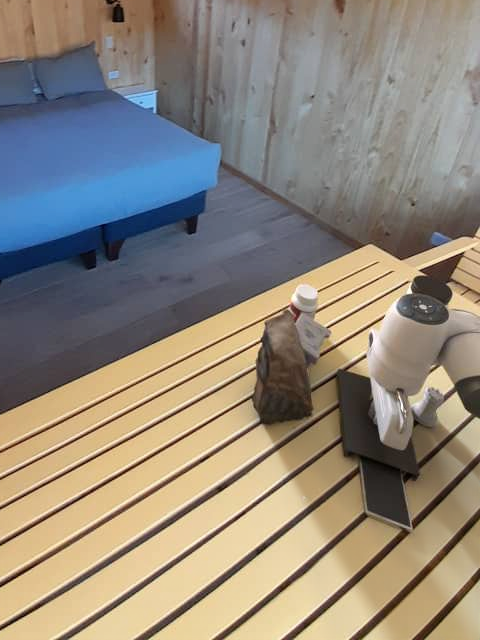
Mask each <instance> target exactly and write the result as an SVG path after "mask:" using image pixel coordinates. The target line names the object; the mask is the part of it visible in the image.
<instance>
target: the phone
mask: <svg viewBox="0 0 480 640" xmlns="http://www.w3.org/2000/svg"><path fill="white" fill-rule="evenodd" d="M357 462H358V470H359V479H360V487H361V496H362V504H363V514H364V516H367V517H369V518H372V519H373V520H377V521H379V522H382V523H385V524H386V525H389V526H392V527H394V528H397V529H398V530H399V529H400V530H402V531H405V532H408V534H409V533H410V534H413V532H414V528H413V522H412V518H411V513H410V512H411V511H410V507H409V502H408V498H407V492H406V487H405V482H404V478H403V477H404V476H403V473H402V472H403V471H402V470H400V469H397V468H395V467H392V466H389V465H386V464H383V463H381V462H378V461H375V460H372V459H369V458H367V457H364V456H361V455H358V454H357Z"/></svg>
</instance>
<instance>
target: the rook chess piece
mask: <svg viewBox="0 0 480 640" xmlns="http://www.w3.org/2000/svg"><path fill="white" fill-rule="evenodd" d="M423 390H424V391H423V393H424V394H423V396H422V398H423V399H422V400H421V401H417V402H415V403H413V405H412V406H411V412H412V416H413V419H414V420H415V421H416V422H418V423H419V424H420V425H422V426H424V427H429V428H430V427H435V426H436V425H437V422H438V421H439V419H438V412H437V409H438V408H440V407H441V405H442V404H444V402H445V399H444V394H443V392H440V389H438V388H436V389H435V387H434V386H430V387H427V388H425V389H423Z"/></svg>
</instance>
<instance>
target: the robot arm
mask: <svg viewBox="0 0 480 640" xmlns="http://www.w3.org/2000/svg"><path fill="white" fill-rule="evenodd" d="M367 343H368V344H367V347H366V360H367V361H366V366H367V370H368V373H369V378H370V380H371V386H372V394H371V397H370V402H371V404H372V401H373V400H374V404H375V411H376V412H375V411H374V414H373V422H374V424H376V425H378V429H379V435H380V440H381V442H382V443H383V444H385V445H387V446H389V447H392V448H395V449H398V450H404V449H405V448H406V446H407V444H408V441H409V439H410V436H411V437H412V433H413V429H414V417H413V415H412V412H411V408H412V406H411V405H410V399H409V397H412V396H413V397H414V396H416V395H418V394H419V393H420V392H421V391H422V389H423V387H424V384H425V382H426V381H427V378H428V377H429V375H430V372H431V370H432V367H433V366H440V367H441V366H442V368H443V370H444V371H445V373H446V375H447V376H448V378H449V379H450V381H451V383H452V384H453V386H454V389H455V391H456V393H457V396H458V398H459V400H460V402H461V403H462V405H463V408H464V409H465V411H467V412H468V413H469V414H470V415H472V416H473V417H476V418H477V419H479V420H480V316H479V315H477V314H475V313H473V312H470V311H468V310H462V309H458V308H457V309H456V308H450V307H448V308H447V307H445V306H444V305H443V304H442V303H441V302H440V301H438V300H436V299H435V298H432V297H430V296H427V295H423V294H415V293H411V294H407V293H405V294H403V295H401V296H400V297H398V298H397V299H396V300H394V302H393V303H392V304H391V305H390V306H389V308H388V310H387V311H386V314H385V315H384V318H383V319H382V322H381V324H380V327H379V329H377V328H371V329H370V330H369V332H368V342H367Z"/></svg>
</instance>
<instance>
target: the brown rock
mask: <svg viewBox="0 0 480 640" xmlns="http://www.w3.org/2000/svg"><path fill="white" fill-rule="evenodd" d="M259 339H260V342H261V346H260V348H259V349H258V352H257V357H256V359H255V360H254V361H255V374H256V382H255V384H254V387H253V389H254V390H253V396H252V397H251V400H252V401H251V402H252V404H253V408H254V409H255V410H256V412H257V414H258V417H259V421H260V423H261V424H263V425H267V426H269V425H274V424H276V423H280V422H281V423H280V424H282V422H283V423H285V422H290V421H301V420H304V419H306V418H309V416H311V415H312V416H313V411H314V409H315V408H314V404H313V396H312V394H313V390H312V386H311V380H310V375H309V371H308V370H309V368H308V369H307V365H306V359H305V354H304V350H303V347H302V344H301V341H300V337H299V334H298V330H297V327H296V325H295V322H294V319H293V316H292V314H291V312H290V311H289V308H286V309H284V310H283V311H282V313H281V314H278V315H275V316H273V317H271V318H269V319H267V320H265V321H264V330H263V332H262V336H261V337H260V338H259ZM312 416H311V417H312ZM305 417H306V418H305ZM284 421H285V422H284ZM275 422H276V423H275Z"/></svg>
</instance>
